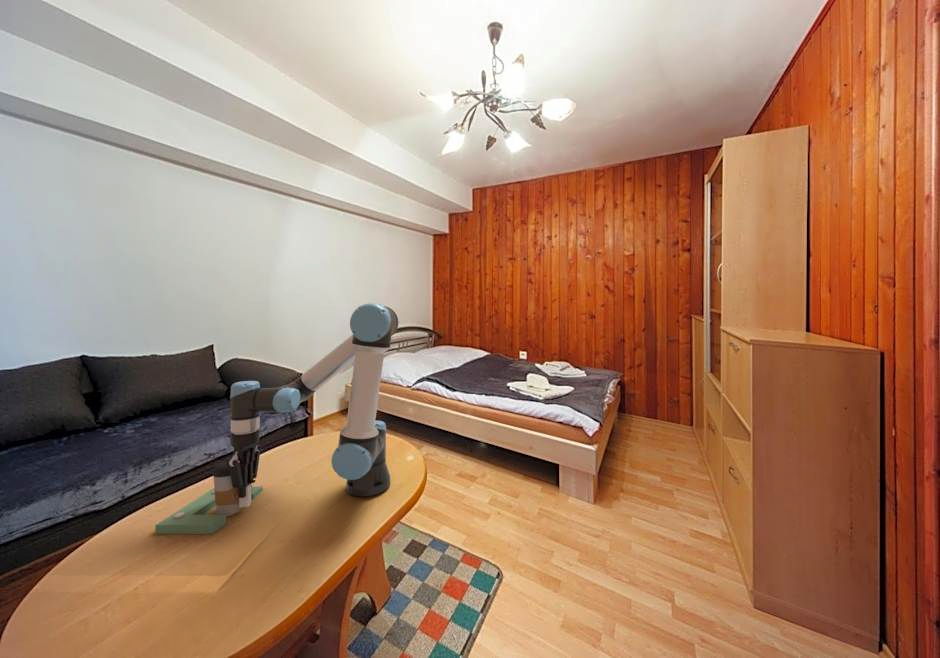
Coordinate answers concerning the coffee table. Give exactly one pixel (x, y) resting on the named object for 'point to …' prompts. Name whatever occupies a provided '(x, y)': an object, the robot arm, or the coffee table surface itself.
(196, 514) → the mint green u-shaped piece
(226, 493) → the coffee cup
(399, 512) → the coffee table surface
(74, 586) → the coffee table surface
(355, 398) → the robot arm
